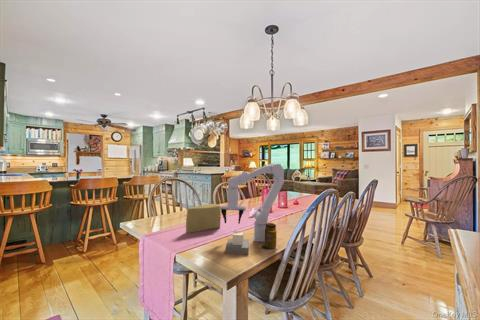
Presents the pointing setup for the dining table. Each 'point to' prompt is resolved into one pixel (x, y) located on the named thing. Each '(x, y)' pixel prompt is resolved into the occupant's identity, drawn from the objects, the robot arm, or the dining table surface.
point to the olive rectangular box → (203, 218)
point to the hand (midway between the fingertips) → (232, 222)
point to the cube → (237, 238)
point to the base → (237, 247)
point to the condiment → (270, 238)
